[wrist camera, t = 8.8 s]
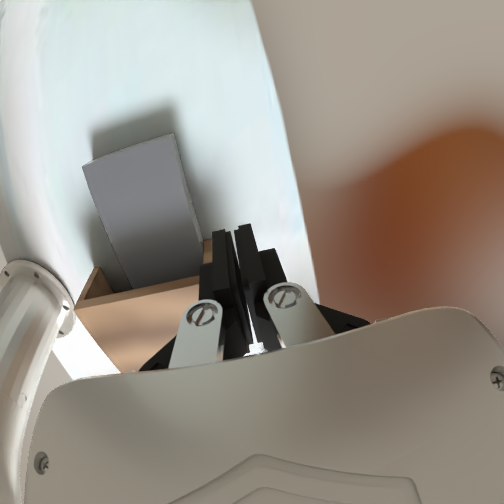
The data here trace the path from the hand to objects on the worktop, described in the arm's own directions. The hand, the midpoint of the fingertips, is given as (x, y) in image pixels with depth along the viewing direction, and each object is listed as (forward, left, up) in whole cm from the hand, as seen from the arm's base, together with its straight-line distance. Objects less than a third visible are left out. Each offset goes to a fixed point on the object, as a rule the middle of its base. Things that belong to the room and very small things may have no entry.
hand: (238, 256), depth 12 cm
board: (-8, +3, -14) cm, 16 cm away
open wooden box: (-14, -1, -14) cm, 20 cm away
